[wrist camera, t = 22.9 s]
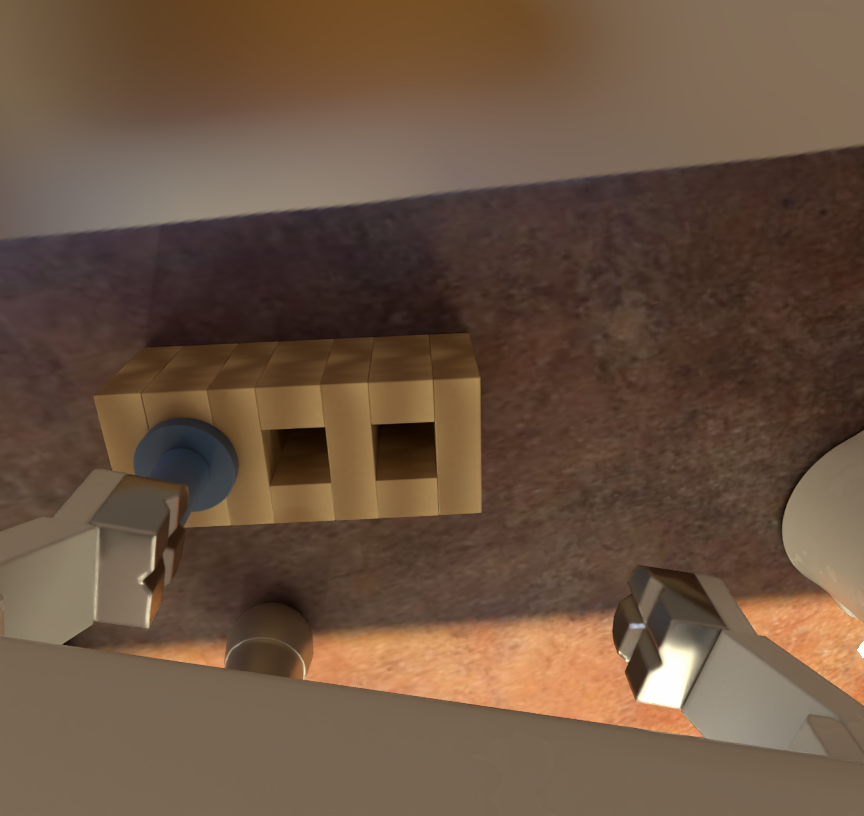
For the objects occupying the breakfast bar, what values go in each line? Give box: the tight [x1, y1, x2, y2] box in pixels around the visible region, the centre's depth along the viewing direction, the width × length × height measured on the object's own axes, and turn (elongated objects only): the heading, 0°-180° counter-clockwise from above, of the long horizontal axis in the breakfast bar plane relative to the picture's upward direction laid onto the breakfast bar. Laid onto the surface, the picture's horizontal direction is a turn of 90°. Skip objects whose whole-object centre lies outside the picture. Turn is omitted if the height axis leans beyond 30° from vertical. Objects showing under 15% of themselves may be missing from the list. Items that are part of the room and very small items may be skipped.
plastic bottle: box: [224, 603, 313, 680], centre depth 46 cm, size 6×7×20 cm
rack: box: [93, 333, 482, 527], centre depth 43 cm, size 21×9×8 cm, turn 92°
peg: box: [133, 418, 239, 526], centre depth 39 cm, size 6×6×13 cm
